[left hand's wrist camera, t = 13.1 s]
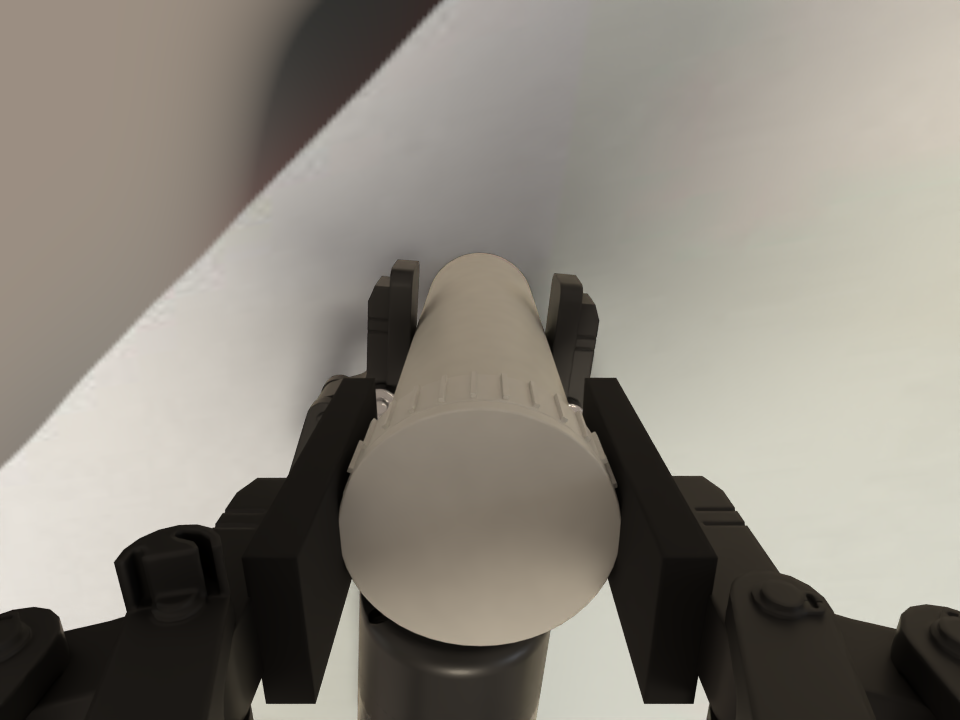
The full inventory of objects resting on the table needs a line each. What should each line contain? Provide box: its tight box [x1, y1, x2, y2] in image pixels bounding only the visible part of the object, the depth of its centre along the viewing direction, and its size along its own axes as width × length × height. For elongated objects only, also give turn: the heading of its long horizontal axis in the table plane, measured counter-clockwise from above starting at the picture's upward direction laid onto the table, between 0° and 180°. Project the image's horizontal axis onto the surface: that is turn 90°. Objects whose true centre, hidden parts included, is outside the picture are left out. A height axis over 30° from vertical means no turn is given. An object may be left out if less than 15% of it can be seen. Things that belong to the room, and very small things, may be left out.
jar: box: [393, 253, 569, 406], centre depth 18 cm, size 4×4×16 cm
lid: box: [339, 371, 621, 646], centre depth 11 cm, size 5×5×2 cm
